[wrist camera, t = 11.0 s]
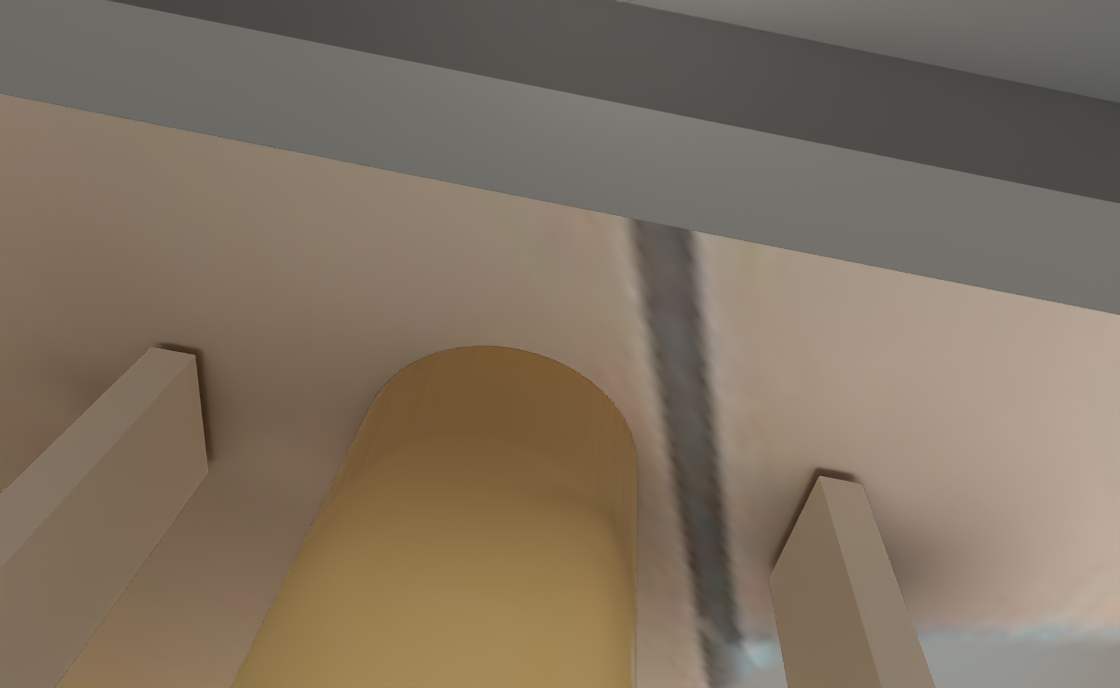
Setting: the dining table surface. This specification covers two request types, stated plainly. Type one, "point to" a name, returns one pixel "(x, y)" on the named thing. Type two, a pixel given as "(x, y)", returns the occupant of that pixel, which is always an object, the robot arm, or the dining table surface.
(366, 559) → the ochre canister
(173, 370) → the robot arm
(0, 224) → the dining table surface
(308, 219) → the dining table surface
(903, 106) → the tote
